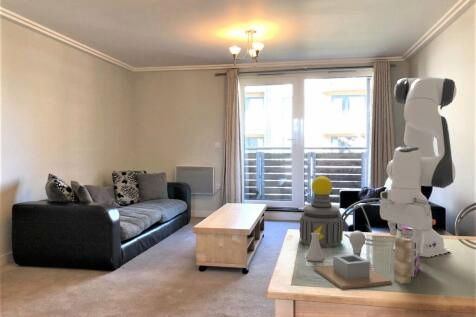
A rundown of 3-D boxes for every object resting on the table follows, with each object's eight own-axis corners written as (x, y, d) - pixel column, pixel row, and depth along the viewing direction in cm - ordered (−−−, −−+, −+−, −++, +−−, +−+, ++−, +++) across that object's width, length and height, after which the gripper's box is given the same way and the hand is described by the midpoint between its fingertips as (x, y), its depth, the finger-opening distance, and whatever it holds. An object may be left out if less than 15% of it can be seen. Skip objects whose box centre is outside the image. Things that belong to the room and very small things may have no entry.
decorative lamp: (296, 246, 162) (298, 177, 161) (302, 235, 180) (303, 173, 179) (341, 250, 157) (343, 179, 156) (342, 239, 175) (344, 175, 174)
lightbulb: (345, 259, 145) (346, 231, 145) (353, 255, 150) (353, 228, 149) (360, 262, 141) (361, 233, 140) (367, 258, 145) (368, 231, 145)
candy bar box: (404, 265, 138) (405, 221, 137) (419, 268, 135) (420, 223, 134) (399, 275, 128) (400, 227, 128) (415, 277, 126) (417, 229, 125)
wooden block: (402, 278, 125) (404, 237, 124) (410, 282, 121) (411, 240, 121) (393, 279, 124) (395, 237, 123) (401, 283, 120) (402, 240, 120)
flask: (324, 262, 140) (325, 236, 140) (305, 261, 142) (305, 235, 141) (324, 257, 147) (324, 231, 147) (305, 255, 149) (305, 230, 148)
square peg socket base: (358, 265, 137) (358, 249, 137) (391, 283, 120) (391, 265, 120) (314, 269, 132) (314, 253, 132) (341, 289, 115) (342, 270, 115)
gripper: (438, 201, 112) (436, 246, 113) (392, 192, 132) (390, 231, 132) (421, 201, 110) (419, 247, 111) (377, 192, 130) (375, 231, 130)
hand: (403, 238), depth 122 cm, fingers open, 8 cm apart
